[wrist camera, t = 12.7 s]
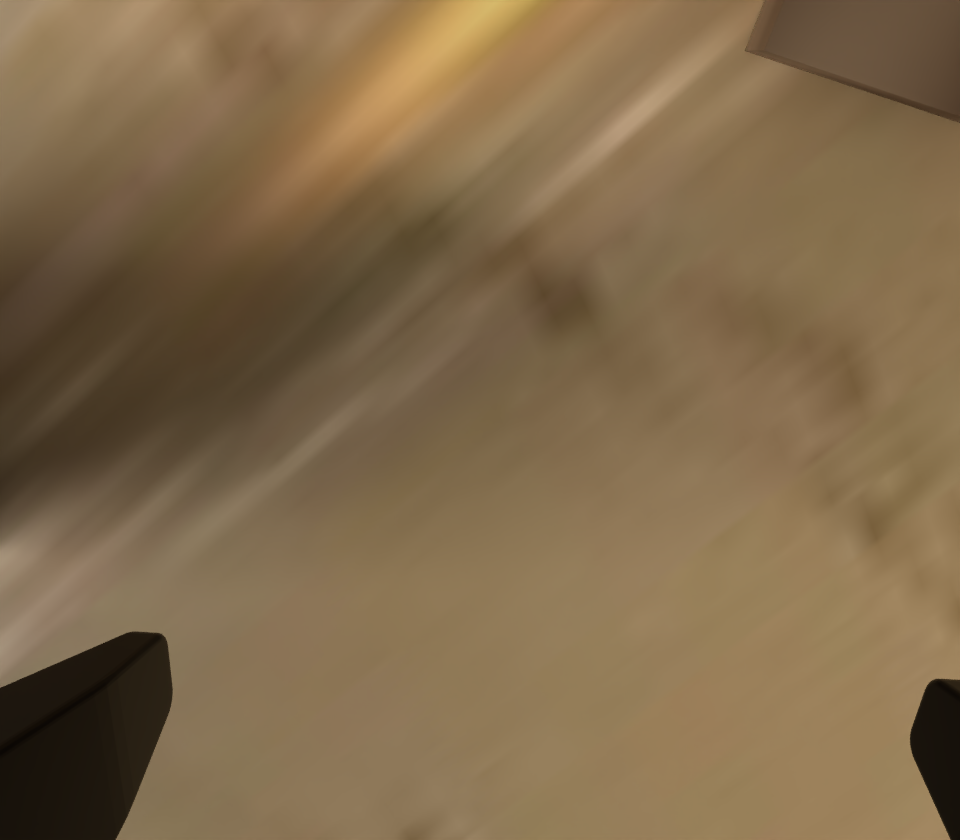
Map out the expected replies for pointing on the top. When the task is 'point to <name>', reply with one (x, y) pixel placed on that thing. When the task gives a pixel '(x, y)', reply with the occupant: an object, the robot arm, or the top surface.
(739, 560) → the top surface
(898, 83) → the peg board
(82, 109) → the top surface
